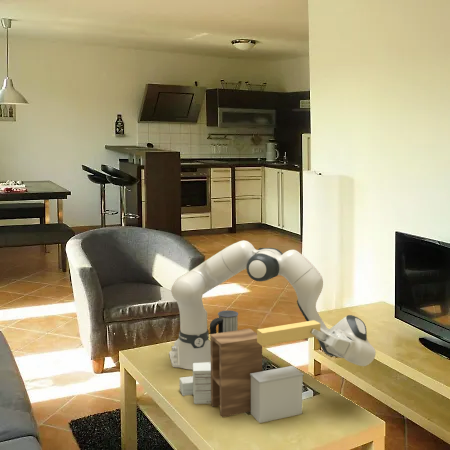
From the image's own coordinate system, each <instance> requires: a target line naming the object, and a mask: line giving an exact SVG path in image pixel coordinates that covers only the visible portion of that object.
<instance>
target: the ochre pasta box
mask: <svg viewBox="0 0 450 450" xmlns="http://www.w3.org/2000/svg"><path fill="white" fill-rule="evenodd" d="M312 328H313V329H315V330H317V331H320V328H321V324H320V323H318V322H317V321H315V320H312V321H306V320H305V321H302V322H301V321H300V322H296V323H289V324H282V325H277V326H276V325H275V326H269V327H264V328H258V329H257V328H256V333H257V342H258V343H259V344H260V345H262V347H266V346H270V345H276V344H282V343H288V342H293V341H294V342H296V341H299V340H305V339H310V338H311V339H312V338H315V337H317V336H315V335H313V334H311V333H310V331H311V329H312Z"/></svg>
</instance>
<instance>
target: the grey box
mask: <svg viewBox="0 0 450 450" xmlns="http://www.w3.org/2000/svg"><path fill="white" fill-rule="evenodd" d="M250 376H251V411H250V415H251V416H252V417H253V418H254V419H255V420H256V421H257V422H258V423H259V424H262V423H267V422H271V421H275V420H281V419H283V418H284V419H285V418H288V417H294V416H298V415H302V414H303V381H304V380H303V376H304V373H303V372H302V371H301V370H299V369H298V368H297V367H295V366H294V365H288V366H285V367H284V366H283V367H278V368H273V369H272V368H271V369H268V370H262V371H261V372H256V373H250Z"/></svg>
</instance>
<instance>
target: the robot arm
mask: <svg viewBox="0 0 450 450" xmlns="http://www.w3.org/2000/svg"><path fill="white" fill-rule="evenodd" d="M244 270H246V273H247V275H248V277H249V278H250V279H251V280H254V281H255V282H266V281H269V280H271V279H273V278H276V277H278V276H282V277H284V279H286V280H287V281H288V283H289V284H290V285H291V287H292V288H293V289H294V292H295V295H296V297H297V300H296V304H297V306H298V308H299V311H300V312H301V314H302V316H303V317H304V319H305V322H306V321H312V320H315V321H317V322H318V323H320V324H321V328H320V331H317V330H315V329H313V328H312V329H311V331H310V333H311V334H313V335H315V336H317V337H314V338H315V339H317V342H318V343H319V346H320V348H321V350H322V351H323V352H324V354H326V355H328V356H330V357H336V358H341V359H344V360H345V361H347V362H349V363H351V364H353V365H356V366H360V367H366V366H368V365H370V364H372V362H373V361H374V360H375V358H376V354H377V352H376V349H375V347H374V346H373V345H372V344H371V343H370V341H369V340H368V335H367V334H368V333H367V326H366V323H364V321H363V320H362V319H361V318H359V317H358V316H355V315H353V314H348V315H346V316H344V317H343V318H342V319H340V320H339V321H338V322H337V323H335V324H334V325H333V326H332V327H330V328H328V327H327V325H326V323H324V321H323V319H322V317H321V315H320V314H319V312H318V310H317V302H318V299H319V297H320V295H321V293H322V292H323V288H324V279H323V276H322V275H321V273H320V272H319V270H318V269H317V268H316V267H315V266H314V265H313V263H312V262H310V260H308V258H307V257H306V256H304V255H303V254H302V253H301V252H299V251H298V250H296V249H289V250H287V251H284V252H282V251H281V250H279V248H274V247H258V249H256V248H255V247H254V245H253V244H252V243H251V242H249V241H248V240H243V239H242V240H240V241H237V242H234V243H232V244H230V245H228V246H226V247H225V248H223V249H222V250H220V251H218V252H217V253H216V254H215V253H214V254H213V255H212V256H210V257H209V258H207V259H206V260H204V261H203V262H202V263H200V264H199V265H197V266H195V267H194V268H192V269H190V270H189V271H187V272H186V273H184V274H182V275H180V276H179V277H177V279H175V281H174V283H173V284H172V285H171V288H170V289H171V296H172V298H173V299H174V301H176V302H177V306H178V310H179V325H180V326H179V327H180V329H179V331H178V338H177V339H176V340H175V341H174V343H173V345H172V346H171V350H170V351H169V352H168V356H169V358H170V362H171V366H172V367H173V368H181V369H185V370H192V371H193V363H205V362H211V345H210V331H209V329H208V311H207V310H206V309H205V306H204V303H203V296H204V295H205V294H206V293H208V292H209V291H211V290H212V289H214V288H217V287H218V286H219V285H221V284H223V283H224V282H226V281H228V280H229V279H231V278H232V277H234V276H236V275H237V274H239V273H240V272H242V271H244Z"/></svg>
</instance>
